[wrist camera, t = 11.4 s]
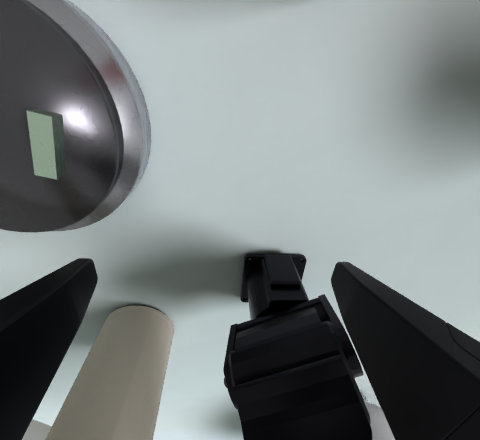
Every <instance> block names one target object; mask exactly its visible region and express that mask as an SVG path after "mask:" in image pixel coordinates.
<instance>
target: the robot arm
mask: <svg viewBox="0 0 480 440" xmlns="http://www.w3.org/2000/svg"><path fill="white" fill-rule="evenodd" d="M249 258H251V259H250V260H248V259H249ZM301 259H303V260H301ZM300 260H301V261H300ZM305 265H306V258H305V256H304V255H288V254H247V255H246V256H245V258H244V267H243V277H242V287H241V301H242V302H249V308H250V316H251V320H250V321H247V322H244V323H241V324H234V325H231V328H230V334H229V339H228V345H227V351H226V357H225V363H224V375H225V378H224V384H225V386H226V387H227V388H228V392H229V395H230V398H231V400H232V402H233V405H234V406H235V408H236V409H238V412H239V416H240V420H241V425H242V431H243V437H244V440H372V429H371V426H370V424H371V421H370V415H369V412H368V410H367V407H366V405H365V403H364V400H363V398H362V396H361V393H360V391H359V388H358V386H357V384H356V381H355V379H354V378H355V377H359V376H362V375H363V371H362V368H361V365H360V362H359V360H358V358H357V355H356V353H355V350H354V348H353V346H352V344H351V342H350V339H349V337H348V335H347V333H346V331H345V329H344V327H343V325H342V324H341V322H340V320H339V318H338V317H337V315H336V313H335V312H334V310H333V308H332V306H331V305H330V303H329V301H328V300H327V298H326V296H325V294H324V295H321V296H318V298H315V299H312V300H309V299H308V297H307V294H306V292H305V289H304V287H303V285H302V281H301V280H302V276H303V272H304V269H305ZM97 280H98V277H97V273H96V269H95V266H94V262H93V260H92V259H89V258H79V259H77V260H75V261H73V262H71V263H69V264H67V265H65V266H63V267H61V268H60V269H58V270H56V271H54V272H52V273H50V274H48V275H46V276H44V277H43V278H41V279H39V280H37V281H35V282H33V283H31V284H29V285H28V286H26V287H24V288H22V289H20V290H18V291H16V292H14V293H12V294H11V295H9V296H7V297H5V298H3V299H1V300H0V440H22V438H23V436H24V434H25V432H26V430H27V428H28V426H29V424H30V422H31V420H32V418H33V417H34V415H35V413H36V411H37V409H38V407H39V405H40V403H41V401H42V399H43V397H44V395H45V393H46V391H47V389H48V387H49V385H50V383H51V382H52V380H53V378H54V376H55V374H56V372H57V370H58V368H59V366H60V364H61V362H62V360H63V358H64V356H65V354H66V352H67V350H68V348H69V346H70V345H71V343H72V341H73V339H74V337H75V335H76V333H77V331H78V329H79V327H80V325H81V323H82V320H83V318H84V315H85V313H86V310H87V308H88V305H89V302H90V300H91V297H92V295H93V292H94V289H95V287H96V284H97ZM331 284H332V287H333V290H334V294H335V297H336V300H337V303H338V306H339V309H340V313H341V316H342V318H343V321H344V324H345V326H346V328H347V331H348V333H349V335H350V337H351V340H352V342H353V344H354V347H355V349H356V351H357V353H358V356H359V358H360V360H361V363H362V365H363V367H364V370H365V372H366V374H367V376H368V379H369V381H370V383H371V386H372V388H373V390H374V392H375V395H376V397H377V399H378V402H379V404H380V406H381V408H382V411H383V413H384V415H385V418H386V420H387V422H388V424H389V427H390V429H391V431H392V434H393V436H394V438H395V440H480V342H479V341H477V340H475V339H473V338H472V337H470V336H468V335H467V334H465V333H463V332H462V331H460V330H458V329H457V328H455V327H454V326H452V325H450V324H449V323H446V322H445V321H444V320H442V319H440V318H439V317H437V316H436V315H434V314H432V313H431V312H429V311H427V310H426V309H424V308H422V307H421V306H419V305H418V304H416V303H414V302H413V301H411V300H409V299H408V298H406V297H404V296H403V295H401V294H400V293H398V292H396V291H395V290H393V289H391V288H390V287H388V286H387V285H385V284H383V283H382V282H380V281H378V280H377V279H375V278H373V277H372V276H370V275H369V274H367V273H365V272H364V271H362V270H360V269H359V268H357V267H355V266H354V265H352V264H351V263H349V262H338V263H337V264H336V265H335V268H334V271H333V274H332V277H331ZM245 297H246V298H245Z"/></svg>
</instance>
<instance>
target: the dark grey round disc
mask: <svg viewBox="0 0 480 440" xmlns="http://www.w3.org/2000/svg"><path fill="white" fill-rule="evenodd" d="M27 1H29V2H30V3H32V4H33V5H35V6H36V7H38V8H39V9H41V10H42V11H43V12H45V13H46V14H47V15H48V16H49V17H51V18H52V19H53V20H54V21H55V22H57V23H58V24H59V25H60V26H61V27H62V28H63V29H64V30H65V31H66V32H67V33H68V34H69V35H70V36H71V37H72V38H73V39H74V40H75V41H76V42H77V43H78V44H79V45H80V47H81V48H82V49H83V50H84V52H85V53H86V54H87V55H88V57H89V58H90V59H91V61H92V62H93V64H94V65H95V66H96V68H97V69H98V71H99V72H100V74H101V75H102V77H103V79H104V81H105V83H106V85H107V87H108V89H109V90H110V92H111V95H112V97H113V100H114V102H115V105H116V107H117V110H118V114H119V117H120V121H121V125H122V131H123V137H124V157H123V165H122V169H121V173H120V176H119V179H118V181H117V183H116V185H115V187H114V189H113V190H112V191H111V193H110V194H109V196H108V197H107V198H106V199H105V200H104V201H103V202H102V203H101V204H100V205H99V206H98V207H97V208H96V209H95V210H94V211H93V212H92V213H90V214H89V215H88V216H86V217H85V218H84V219H82V220H80V221H78V222H76V223H75V224H73V225H70V226H67V227H64V228H61V229H57V230H52V231H64V230H72V229H77V228H81V227H84V226H88V225H90V224H93V223H95V222H97V221H99V220H101V219H103V218H104V217H106V216H108V215H109V214H110V213H112V212H113V211H114V210H115V209H116V208H117V207H118V206H119V205H120V204H121V203H122V202H123V201H124V200H125V198H126V197H127V196H128V195H129V194H130V193H131V192H132V190H133V189H134V188H135V187H136V186H137V184H138V182H139V181H140V179H141V178H142V176H143V173H144V171H145V169H146V166H147V163H148V159H149V154H150V146H151V127H150V120H149V114H148V110H147V106H146V103H145V99H144V96H143V93H142V91H141V88H140V86H139V83H138V81H137V79H136V77H135V75H134V73H133V71H132V70H131V68H130V66H129V64H128V62H127V61H126V59H125V58H124V56H123V55H122V53H121V52H120V51H119V49H118V48H117V46H116V45H115V44H114V43H113V41H112V40H111V39H110V38H109V37H108V35H107V34H106V33H105V32H104V31H103V30H102V29H101V28H100V27H99V26H98V25H97V24H96V23H95V22H94V21H93V20H92V19H91V18H90V17H89V16H88V15H87V14H85V13H84V12H83V11H82V10H80V9H79V8H78V7H77V6H75V5H74V4H73V3H72V2H70V1H69V0H27Z"/></svg>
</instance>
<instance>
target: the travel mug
mask: <svg viewBox="0 0 480 440" xmlns="http://www.w3.org/2000/svg"><path fill="white" fill-rule="evenodd" d="M173 333H174V327H173V324H172V322H171V320H170V319H169V318H168V317H167V316H166V315H165V314H163V313H162V312H160V311H158V310H156V309H153V308H150V307H146V306H126V307H122V308H119V309H116V310H115V311H113V312H112V313H110V314H109V315H108V317H107V318H106V320H105V322H104V324H103V326H102V328H101V330H100V332H99V334H98V336H97V338H96V340H95V342H94V344H93V346H92V348H91V350H90V352H89V354H88V356H87V358H86V360H85V362H84V364H83V366H82V368H81V370H80V372H79V374H78V376H77V378H76V380H75V382H74V384H73V386H72V388H71V390H70V392H69V394H68V396H67V398H66V400H65V402H64V404H63V406H62V408H61V410H60V412H59V414H58V416H57V418H56V420H55V422H54V424H53V426H52V428H51V430H50V432H49V434H48V436H47V438H46V440H153V435H154V430H155V425H156V420H157V415H158V410H159V405H160V399H161V394H162V389H163V384H164V379H165V374H166V369H167V364H168V359H169V353H170V348H171V343H172V338H173Z"/></svg>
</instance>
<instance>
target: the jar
mask: <svg viewBox="0 0 480 440" xmlns="http://www.w3.org/2000/svg"><path fill="white" fill-rule="evenodd" d="M364 403H365V405H366V407H367V410H368V412H369V415H370V421H371V424H370V426H371V429H372V440H395V438H394V436H393V434H392V431H391V429H390V427H389V424H388V422H387V420H386V418H385V415H384V413H383V411H382V408H380V407H378V406H376V405H374V404H370V403H367V402H364Z"/></svg>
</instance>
